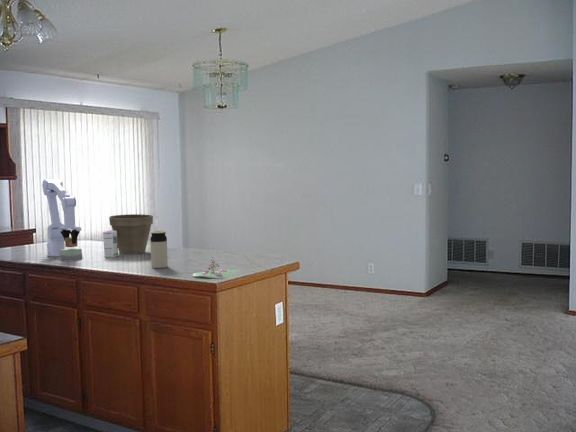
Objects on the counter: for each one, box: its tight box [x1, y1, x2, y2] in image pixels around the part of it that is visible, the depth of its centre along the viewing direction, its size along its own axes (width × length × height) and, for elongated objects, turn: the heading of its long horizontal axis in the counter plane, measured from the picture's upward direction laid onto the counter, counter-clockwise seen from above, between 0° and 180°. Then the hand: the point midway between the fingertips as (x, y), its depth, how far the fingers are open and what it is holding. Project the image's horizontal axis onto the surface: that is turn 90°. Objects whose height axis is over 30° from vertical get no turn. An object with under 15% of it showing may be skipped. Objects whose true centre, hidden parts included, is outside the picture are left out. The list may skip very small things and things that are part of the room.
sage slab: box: [60, 247, 83, 256], centre depth 348 cm, size 8×8×3 cm
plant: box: [191, 257, 240, 279], centre depth 293 cm, size 25×21×9 cm
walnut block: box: [64, 236, 78, 248], centre depth 347 cm, size 4×4×5 cm
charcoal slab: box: [60, 253, 83, 262], centre depth 348 cm, size 8×8×3 cm
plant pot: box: [108, 213, 154, 255], centre depth 368 cm, size 25×25×22 cm
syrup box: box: [102, 230, 119, 258], centre depth 355 cm, size 6×6×14 cm
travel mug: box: [149, 230, 169, 269], centre depth 314 cm, size 8×8×18 cm
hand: (70, 243), depth 347 cm, fingers closed on walnut block, 4 cm apart
